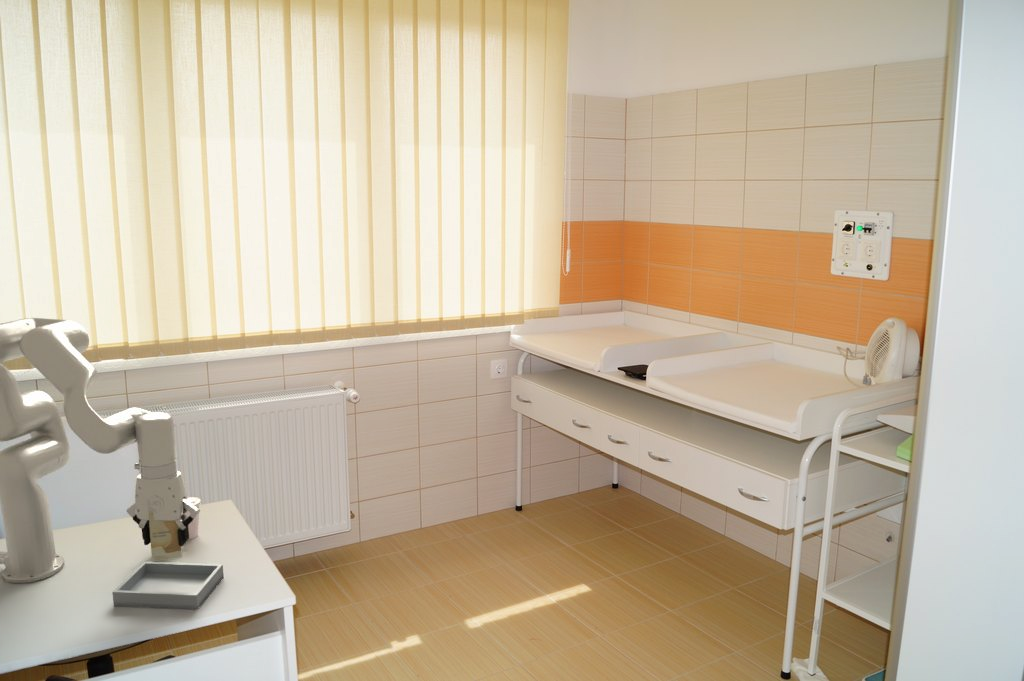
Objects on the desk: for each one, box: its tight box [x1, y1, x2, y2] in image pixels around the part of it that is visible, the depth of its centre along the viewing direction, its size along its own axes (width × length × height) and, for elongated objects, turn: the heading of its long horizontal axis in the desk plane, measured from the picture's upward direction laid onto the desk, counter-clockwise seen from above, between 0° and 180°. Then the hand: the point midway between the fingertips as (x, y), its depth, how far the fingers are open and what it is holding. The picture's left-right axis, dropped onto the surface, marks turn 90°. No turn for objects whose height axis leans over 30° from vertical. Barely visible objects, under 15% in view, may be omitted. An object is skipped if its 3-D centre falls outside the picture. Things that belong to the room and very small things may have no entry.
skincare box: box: [148, 511, 183, 562], centre depth 175 cm, size 6×4×12 cm
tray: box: [111, 561, 224, 610], centre depth 178 cm, size 19×14×4 cm
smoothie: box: [185, 496, 202, 540], centre depth 204 cm, size 6×6×14 cm
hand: (166, 542), depth 176 cm, fingers closed on skincare box, 7 cm apart
